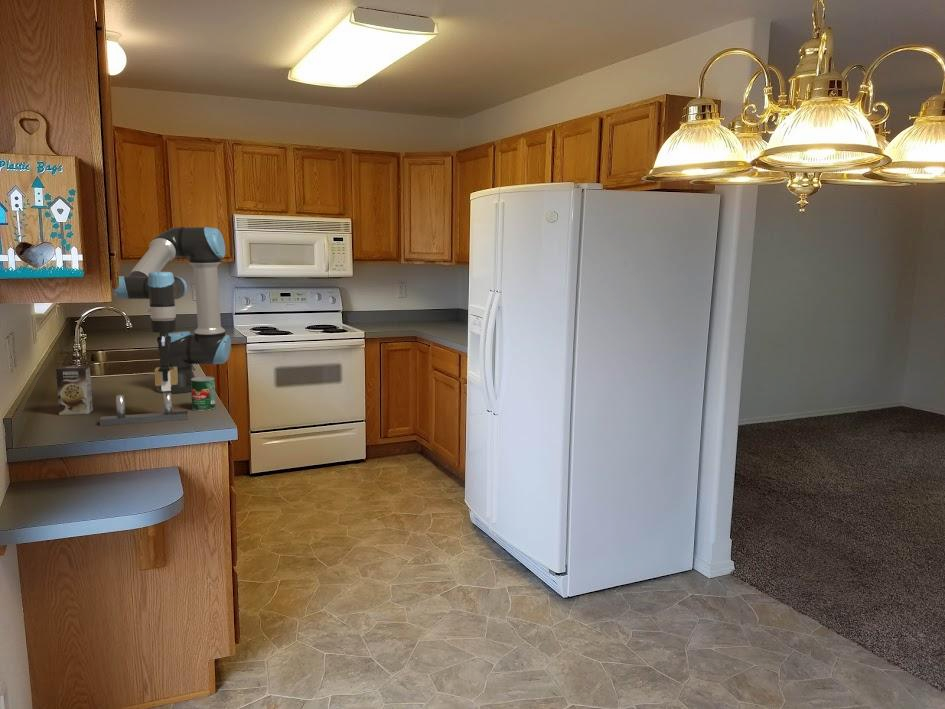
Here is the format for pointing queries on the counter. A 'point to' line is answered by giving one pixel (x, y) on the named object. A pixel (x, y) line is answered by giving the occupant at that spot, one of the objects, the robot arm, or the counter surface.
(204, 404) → the canned tomato
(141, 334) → the counter surface
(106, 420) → the grey peg stand
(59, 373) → the cookie box
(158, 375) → the collar
